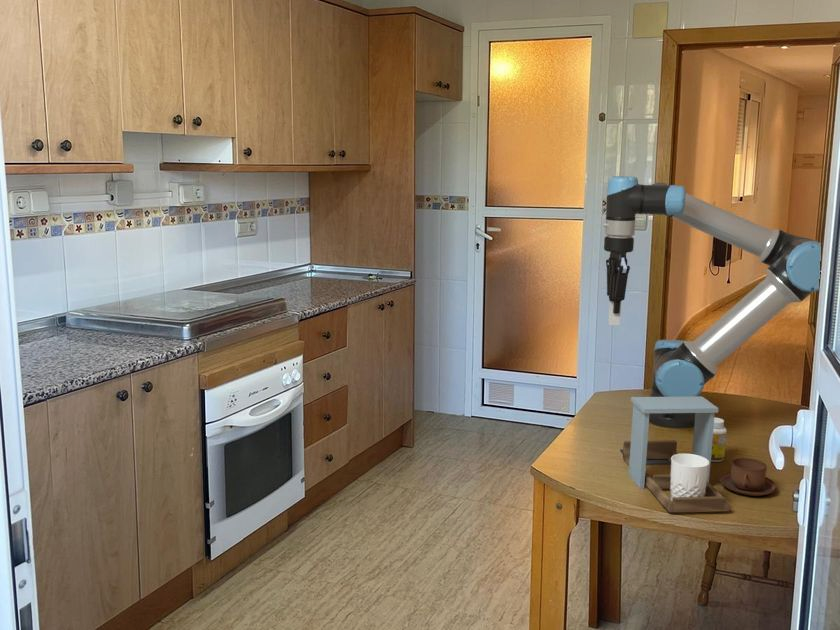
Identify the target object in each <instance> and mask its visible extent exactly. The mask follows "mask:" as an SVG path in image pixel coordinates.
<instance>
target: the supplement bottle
mask: <svg viewBox="0 0 840 630" xmlns="http://www.w3.org/2000/svg"><path fill="white" fill-rule="evenodd" d="M727 432H728V431H727V428H726V427H725V420H724V419H723V418H720V417H714V429H713V440H712V451H711V462H712V463H721V462H722V461H723V460H724V459H725V453H726V442H727V441H726V440H727Z"/></svg>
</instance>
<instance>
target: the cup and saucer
mask: <svg viewBox="0 0 840 630" xmlns="http://www.w3.org/2000/svg"><path fill="white" fill-rule="evenodd" d="M766 474H767V465H766V463H764V462H763V461H761V460H758V459H755V458H750V457H749V458H747V457H738V458H734V459H732V461H731V469H730V471H727V472H724V473H721V474H720V475H719V482H720V483H721V484H722V485H723V487H724V488H726V489H727V490H729V491H731V492H734V493H737V494H741V495H746V496H751V497H753V496H754V497H755V496H757V497H759V496H765V495H766V496H767V495H770V494H771V493H774V491H775V489H776V488H777V484H776V483H775V481H773V479H771V478H768V477H767V476H766Z"/></svg>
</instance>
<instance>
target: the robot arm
mask: <svg viewBox="0 0 840 630" xmlns="http://www.w3.org/2000/svg"><path fill="white" fill-rule="evenodd" d="M606 191H607V192H606V206H605V223H603V227H605V228H604V229H605V230H604V233H605V235H606V236H605V237H604V239H603V240H604V243H603V245H604V246H603V250H604V251H606V252H609V257H608V259H606V260H605V264H606V296H607V297H608V301H609V302H608V303H609V304H608V321H607V324H608V325H609V326H621V325H620V324H621V313H622V312H621V311H622V310H621V309H622V308H621V307H622V301H624V300H625V298H626V292H627V291H626V290H627V285H628V277H629V273H630V269H631V267H630V265H628V259H627V253H632V252H633V251H634V244H635V239H634V237H633V236H635V233H636V231H635V230H636V216H637V215H660V216H661V215H662V216H666V217H668V218H670V219H673V220H674V221H677V222H679V223H682V224H683V225H687V226H689V227H692V228H694V229H695V230H698V231H700V232H702V233H704V234H707V235H709V236H712V237H713V238H716V239H718V240H720V241H721V242H722V241H723V242H725V243H727V244H730V245H731V246H734V247H736V248H738V249H741V250H743V251H745V252H747V253H749V254H751V255H754V256H755V257H757V258H758V260H759V262H760V263H762V264H764V265H767V266H768V267H767V268H766V273H765V278H764V279H763V280H762V281H761V282H759V283H758V284H757V285H756V286H755V287H754V288H753V289H751V290H750V291H749V292H748V293H747V294H746V295H745V296H743V297H742V298H741V299H740V300H739V301H738V302H737V303H735V305H733V306H732V307H731V308H729V309H728V310H727V312H725V313H724V314H723V315H722V316H721V317H720V318H719V319H718V320H715V322H714V323H712V324H711V326H709V327H708V328H707V329H706V330H704V332H703V333H701V334H700V335H699V336H698V337H697V338H696V339H695V340H691V341H689V340H679V339H658V340H657V341H656V342H655V344H654V348H653V352H654V353H653V355H654V356H653V368H652V381H651V392H650V394H649V397H696V396H700V395H701V393H702V392H703V390H704V387H705V385H706V384H707V383H708V382H709V381H710V380H711V379H713V378H714V377H715V376H716V375H717V372H718V366H719V365H720V364H721V363H722V362H724V361H725V360H726V359H727V358H728V357H730V355H732V354H733V352H735V351H736V350H737V349H739V348H740V347H741V346H742V345H743V344H745V342H747V341H748V340H749V339H751V337H753V335H755V334H756V333H757V332H758V331H759V330H761V329H762V328H763V327H764V326H765V325H766V324H767V323H769V322H770V321H772V319H774V317H776V316H777V315H778V314H779V313H780V312H782V311H783V310H784V309H785V308H787V306H788V305H790V304H791V303H802V302H803V301H804V300H805V299H806V298H808V297H809V296H810V295H812V293H814V292H818V291H820V290H819V279H820V261H821V243H822V242H819V241H816V240H813V239H811V238H809V237H804V236H800V235H795V234H793V233H790V232H786V231H784V230H782V229H779V228H775V229H773V230H771V229H769V228H767V227H765V226H762V225H760V224H758V223H755V222H753V221H751V220H748V219H746V218H744V217H741V216H740V215H737V214H734V213H732V212H730V211H728V210H725V209H723V208H720V207H719V206H716V205H714V204H712V203H709V202H707V201H705V200H703V199H700V198H698V197H696V196H693V195H691V194H688V193H686V187H684V186H683V185H675V184H671V185H669V184H668V183H665V182H662V181H661V182H658V181H657V182H654V183H652V184H639V180H638V177H636V176H623V175H622V176H620V175H617V176H612V177H610V178H609V179H608V182H607V190H606ZM650 423H651V424H653V425H656V426H659V427H666V428H671V429H673V428H674V429H675V428H676V429H686V428H694V424H695V413H650V414H649V424H650Z"/></svg>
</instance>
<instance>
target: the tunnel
mask: <svg viewBox="0 0 840 630" xmlns="http://www.w3.org/2000/svg"><path fill="white" fill-rule="evenodd" d="M630 402H631V403H632V419H631V431H630V434H631V435H630V441H631V446H630V461H629V464H628V476H629V477H630V479H631V480H632V481H633V482H634V483H635V484H636V486H637V487H638V488H639V489H640V490H641V489H643V490H644V489H645V471H646V469H647V465H646V455H647V442H648V441H649V426H650V422H649V414H650V413H695V424H694V426H693V436H692V437H693V438H692V449H691V454H694V455H698V456H702V457H704V458H706V459H707V460H708V461H709V470H708V478H707V482H708V483H709V484H710V472H711V451H712V440H713V429H714V417H715V414H718V413H719V407H718V406H717V405H715V404H713V403H712V402H710V401H709V400H708V399H706V398H705V397H703V396H700V395H699V396H696V397H650V396H631V397H630ZM715 418H716V417H715Z"/></svg>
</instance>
